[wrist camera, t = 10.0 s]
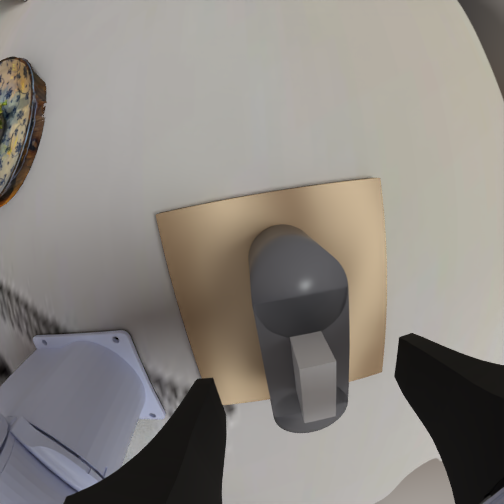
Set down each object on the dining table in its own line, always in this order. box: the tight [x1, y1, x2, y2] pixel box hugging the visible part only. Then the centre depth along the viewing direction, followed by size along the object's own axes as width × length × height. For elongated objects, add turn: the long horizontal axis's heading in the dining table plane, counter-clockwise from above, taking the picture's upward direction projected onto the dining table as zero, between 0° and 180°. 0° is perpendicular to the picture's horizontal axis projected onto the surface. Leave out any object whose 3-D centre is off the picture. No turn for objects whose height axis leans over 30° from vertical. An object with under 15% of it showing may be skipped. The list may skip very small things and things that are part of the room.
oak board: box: [156, 178, 387, 405], centre depth 16 cm, size 12×13×1 cm
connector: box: [248, 224, 350, 433], centre depth 12 cm, size 4×10×7 cm, turn 9°
